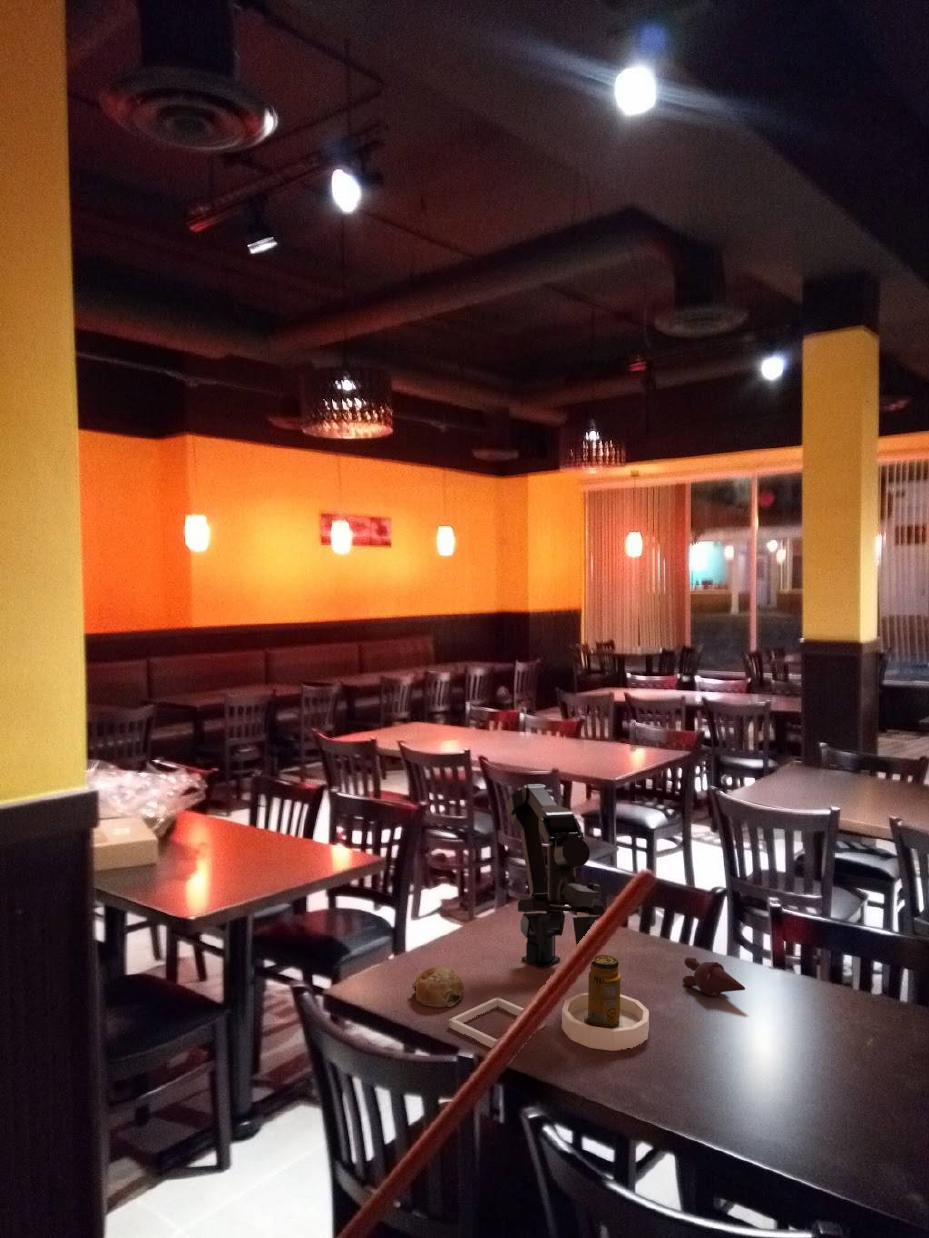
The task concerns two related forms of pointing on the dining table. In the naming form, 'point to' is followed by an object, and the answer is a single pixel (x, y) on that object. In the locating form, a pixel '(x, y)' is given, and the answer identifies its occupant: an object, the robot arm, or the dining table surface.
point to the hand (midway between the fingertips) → (562, 951)
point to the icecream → (710, 978)
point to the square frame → (458, 1021)
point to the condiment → (604, 994)
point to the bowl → (605, 1038)
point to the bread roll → (438, 987)
